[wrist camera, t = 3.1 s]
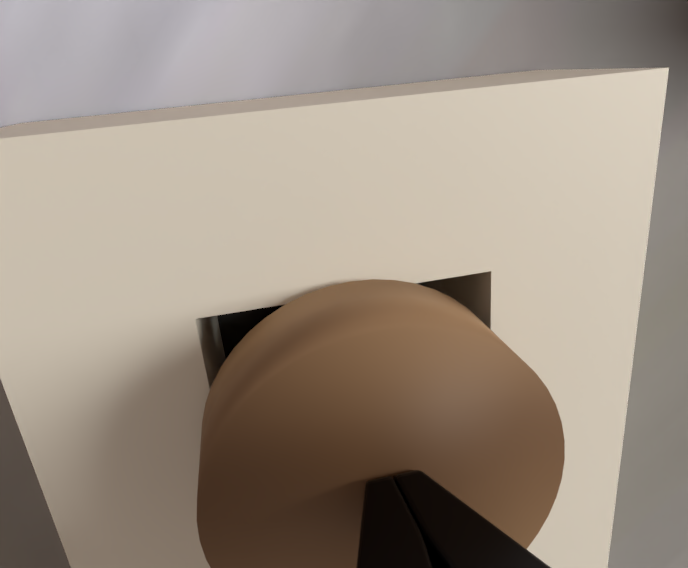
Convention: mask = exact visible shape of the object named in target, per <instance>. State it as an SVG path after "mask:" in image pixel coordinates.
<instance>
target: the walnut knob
mask: <svg viewBox="0 0 688 568" xmlns="http://www.w3.org/2000/svg"><path fill="white" fill-rule="evenodd" d="M564 460H565V440H564V434H563V427H562V422H561V419H560V415H559V412H558V409H557V406H556V404H555V402H554V400H553V398H552V396H551V394H550V392H549V390H548V389H547V387H546V386H545V384H544V383H543V382H542V380H541V379H540V378H539V377H538V375H537V374H536V373H535V372H534V371H533V370H532V369H531V368H530V367H529V366H528V365H527V364H526V363H525V362H524V361H523V360H522V359H521V358H520V357H519V356H518V355H517V354H516V353H515V352H514V351H512V350H511V349H510V348H509V347H508V346H507V345H506V344H505V343H504V342H503V341H502V340H501V339H500V338H499V337H498V336H497V335H496V334H495V333H494V332H493V331H492V330H491V329H489V328H488V327H487V326H486V325H485V324H484V323H483V322H482V321H481V320H480V319H479V318H478V317H477V316H476V315H475V314H474V313H472V312H471V311H470V310H469V309H468V308H467V307H465V306H464V305H462V304H461V303H459V302H458V301H456V300H455V299H453V298H452V297H450V296H448V295H445V294H443V293H441V292H439V291H437V290H435V289H432V288H429V287H425V286H422V285H419V284H416V283H410V282H404V281H398V280H380V279H370V280H360V281H350V282H345V283H341V284H336V285H332V286H328V287H325V288H322V289H319V290H316V291H313V292H311V293H308V294H305V295H303V296H301V297H299V298H297V299H295V300H293V301H291V302H289V303H287V304H285V305H284V306H282V307H281V308H279V309H278V310H276V311H275V312H273V313H271V314H270V315H268V316H267V317H266V318H264V319H263V320H262V321H261V322H260V323H258V324H257V325H256V326H255V327H254V328H253V329H251V330H250V331H249V332H248V333H247V334H246V335H245V336H244V337H243V339H242V340H241V341H240V342H239V343H238V344H237V345H236V346H235V347H234V348H233V350H232V351H231V353H230V354H229V356H228V357H227V359H226V360H225V361H224V363H223V364H222V366H221V368H220V370H219V372H218V373H217V375H216V377H215V379H214V381H213V383H212V386H211V389H210V392H209V394H208V397H207V400H206V403H205V409H204V414H203V420H202V431H201V446H200V460H199V475H198V490H197V527H198V533H199V540H200V543H201V546H202V549H203V552H204V555H205V558H206V561H207V562H208V564H209V566H210V568H356V566H357V557H358V548H359V538H360V529H361V520H362V511H363V502H364V492H365V485H366V482H367V481H369V480H373V479H378V478H382V477H387V476H390V477H392V478H393V479H394V477H395V476H396V475H397V474H401V473H405V472H410V471H414V470H420V471H422V472H424V473H425V474H427V475H428V476H429V477H431V478H432V479H433V480H435V481H436V482H437V483H439V484H440V485H441V486H443V487H444V488H445V489H447V490H448V491H449V492H451V493H452V494H453V495H455V496H456V497H457V498H459V499H460V500H461V501H463V502H464V503H465V504H467V505H468V506H469V507H471V508H472V509H473V510H475V511H476V512H477V513H479V514H480V515H481V516H483V517H484V518H485V519H487V520H488V521H489V522H491V523H492V524H493V525H495V526H496V527H497V528H499V529H500V530H501V531H503V532H504V533H505V534H507V535H508V536H509V537H511V538H512V539H513V540H515V541H516V542H517V543H519V544H520V545H521V546H523V547H524V548H525V549H527V548H528V547H529V545H530V544H531V543H532V541H533V540H534V538H535V537H536V536H537V534H538V533H539V531H540V530H541V528H542V526H543V524H544V523H545V521H546V519H547V517H548V516H549V513H550V511H551V509H552V506H553V504H554V502H555V499H556V497H557V493H558V490H559V487H560V483H561V480H562V474H563V467H564Z"/></svg>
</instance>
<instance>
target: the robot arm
mask: <svg viewBox="0 0 688 568" xmlns="http://www.w3.org/2000/svg"><path fill="white" fill-rule="evenodd" d="M356 568H551V567H550V566H548V565H547V564H546V563H544V562H543V561H542V560H540V559H539V558H538V557H536V556H535V555H534V554H532V553H531V552H529V551H528V550H527V549H525V548H524V547H523V546H521V545H520V544H519V543H517V542H516V541H515V540H513V539H512V538H511V537H509V536H508V535H507V534H505V533H504V532H503V531H501V530H500V529H499V528H497V527H496V526H495V525H493V524H492V523H491V522H489V521H488V520H487V519H485V518H484V517H483V516H481V515H480V514H479V513H477V512H476V511H475V510H473V509H472V508H471V507H469V506H468V505H467V504H465V503H464V502H463V501H461V500H460V499H459V498H457V497H456V496H455V495H453V494H452V493H451V492H449V491H448V490H447V489H445V488H444V487H443V486H441V485H440V484H439V483H437V482H436V481H435V480H433V479H432V478H431V477H429V476H428V475H427V474H425V473H424V472H422V471H420V470H414V471H410V472H405V473H401V474H397V475H396V476H395V477H394V479H393V478H392V477H390V476H387V477H382V478H378V479H373V480H369V481H367V482H366V485H365V492H364V502H363V511H362V520H361V529H360V538H359V548H358V557H357V566H356Z"/></svg>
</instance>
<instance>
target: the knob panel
mask: <svg viewBox="0 0 688 568" xmlns="http://www.w3.org/2000/svg"><path fill="white" fill-rule="evenodd" d="M668 72H669V68H620V69H567V70H534V71H524V72H514V73H504V74H495V75H485V76H475V77H465V78H456V79H446V80H436V81H426V82H417V83H407V84H397V85H387V86H378V87H368V88H358V89H349V90H339V91H329V92H319V93H310V94H300V95H290V96H280V97H271V98H261V99H251V100H241V101H232V102H222V103H212V104H203V105H193V106H183V107H173V108H164V109H154V110H144V111H134V112H125V113H115V114H105V115H95V116H86V117H76V118H66V119H57V120H47V121H37V122H27V123H19V124H15V125H11V126H6V127H2V128H0V379H1V382H2V384H3V387H4V390H5V392H6V395H7V398H8V400H9V403H10V406H11V408H12V411H13V414H14V416H15V419H16V422H17V424H18V427H19V430H20V433H21V435H22V438H23V441H24V443H25V446H26V449H27V451H28V454H29V457H30V459H31V462H32V465H33V467H34V470H35V473H36V475H37V478H38V481H39V483H40V486H41V489H42V491H43V494H44V497H45V500H46V502H47V505H48V508H49V510H50V513H51V516H52V518H53V521H54V524H55V526H56V529H57V532H58V534H59V537H60V540H61V542H62V545H63V548H64V550H65V553H66V556H67V558H68V561H69V564H70V567H71V568H210V566H209V564H208V562H207V561H206V558H205V555H204V552H203V549H202V546H201V543H200V540H199V533H198V527H197V490H198V475H199V460H200V446H201V431H202V420H203V414H204V409H205V403H206V400H207V397H208V394H209V392H210V389H211V386H212V383H213V381H214V379H215V377H216V375H217V373H218V372H219V370H220V368H221V366H222V364H223V363H224V361H225V360H226V358H225V353H224V348H223V343H222V338H221V332H220V327H219V322H218V317H217V315H223V314H229V313H235V312H241V311H248V310H254V309H260V308H266V307H272V306H279V305H285V304H287V303H289V302H291V301H293V300H295V299H297V298H299V297H301V296H303V295H305V294H308V293H311V292H313V291H316V290H319V289H322V288H325V287H328V286H332V285H336V284H341V283H345V282H350V281H360V280H370V279H380V280H398V281H404V282H410V283H419V285H422V286H425V287H429V288H432V289H435V290H437V291H439V292H441V293H443V294H445V295H448V296H450V297H452V298H453V299H455V300H456V301H458V302H459V303H461V304H462V305H464V306H465V307H467V308H468V309H469V310H470V311H471V312H472V313H474V314H475V315H476V316H477V317H478V318H479V319H480V320H481V321H482V322H483V323H484V324H485V325H486V326H487V327H488V328H489V329H491V330H492V331H493V332H494V333H495V334H496V335H497V336H498V337H499V338H500V339H501V340H502V341H503V342H504V343H505V344H506V345H507V346H508V347H509V348H510V349H511V350H512V351H514V352H515V353H516V354H517V355H518V356H519V357H520V358H521V359H522V360H523V361H524V362H525V363H526V364H527V365H528V366H529V367H530V368H531V369H532V370H533V371H534V372H535V373H536V374H537V375H538V377H539V378H540V379H541V380H542V382H543V383H544V384H545V386H546V387H547V389H548V390H549V392H550V394H551V396H552V398H553V400H554V402H555V404H556V406H557V409H558V412H559V415H560V419H561V422H562V427H563V434H564V440H565V460H564V467H563V474H562V480H561V483H560V487H559V490H558V493H557V497H556V499H555V502H554V504H553V506H552V509H551V511H550V513H549V516H548V517H547V519H546V521H545V523H544V524H543V526H542V528H541V530H540V531H539V533H538V534H537V536H536V537H535V538H534V540H533V541H532V543H531V544H530V545H529V547H528V548H527V550H528V551H529V552H531V553H532V554H534V555H535V556H536V557H538V558H539V559H540V560H542V561H543V562H544V563H546V564H547V565H548V566H550V567H551V568H607V567H608V558H609V550H610V542H611V534H612V526H613V518H614V510H615V502H616V494H617V485H618V477H619V469H620V461H621V453H622V445H623V437H624V429H625V420H626V412H627V404H628V396H629V388H630V380H631V372H632V364H633V356H634V347H635V339H636V331H637V323H638V315H639V307H640V299H641V291H642V283H643V274H644V266H645V258H646V250H647V242H648V234H649V226H650V218H651V209H652V201H653V193H654V185H655V177H656V169H657V161H658V153H659V145H660V136H661V128H662V120H663V112H664V104H665V96H666V88H667V80H668Z"/></svg>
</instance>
